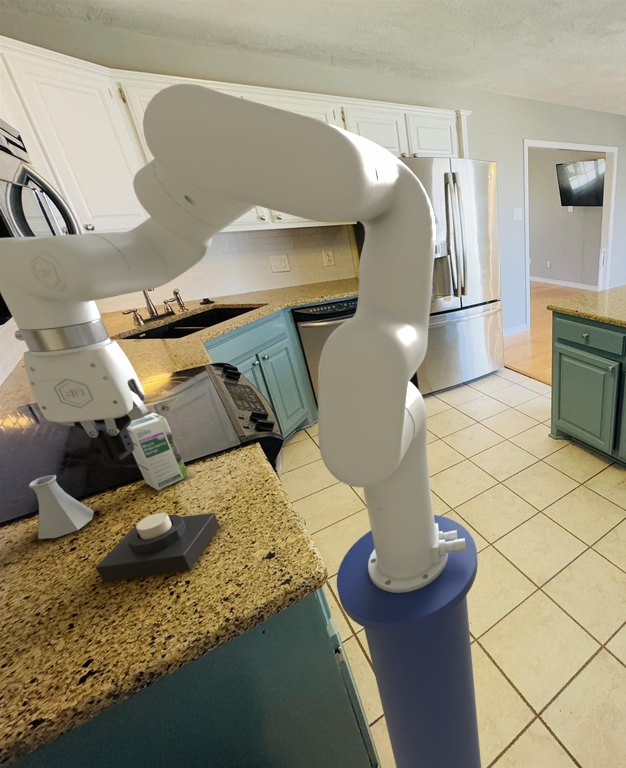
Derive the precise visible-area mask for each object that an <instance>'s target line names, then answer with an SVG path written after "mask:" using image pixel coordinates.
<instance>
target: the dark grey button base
mask: <svg viewBox="0 0 626 768" xmlns="http://www.w3.org/2000/svg"><path fill="white" fill-rule="evenodd" d="M167 515H168V517H169V519H170V521H171V523H172V527H171V528H170V530H168V531H167V532H165V533H163V534H162V535H160V536H157V537H154V538H152V539H146V540H143V539H141V537H140V535H139V533H138V531H137V529H136V525H137V524H138V523H139V522H140V521H138V522H137V523H136V524H135V525H134V526H133V527H132V528H131V529H130V531H128V533H127V534H126V535H125V536H124V537H123V538H121V540H120V541H119V542H118V543H117V544H116V545H115V546H114V547H113V548H112V549H111V550H110V551H109V552H108V554H106V555H105V556H104V558H103V559H102V560H101V561H100V562H99V563H98V564H97V565H96V566H95V570H96V571H97V573H98V575H99V577H100V579H101V581H102V582H103V583H111V582H118V581H125V580H132V579H139V578H146V577H152V576H153V577H154V576H161V575H166V574H167V575H168V574H174V573H175V574H176V573H180V572H188V571H191V570H192V568H193V566H194V565H195V564H196V563H197V561H198V560H199V558H200V557H201V555H202V554H203V552H204V551H205V549H206V547H207V546H208V545H209V543H211V540H212V539H213V537H214V536H215V534H216V533H217V531H218V530H219V529H220V524H219V521H218V518H217V516H216V513H215V512H209V513H201V514H193V515H184V516H181V515H178V514H175V513H173V514H167Z"/></svg>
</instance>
